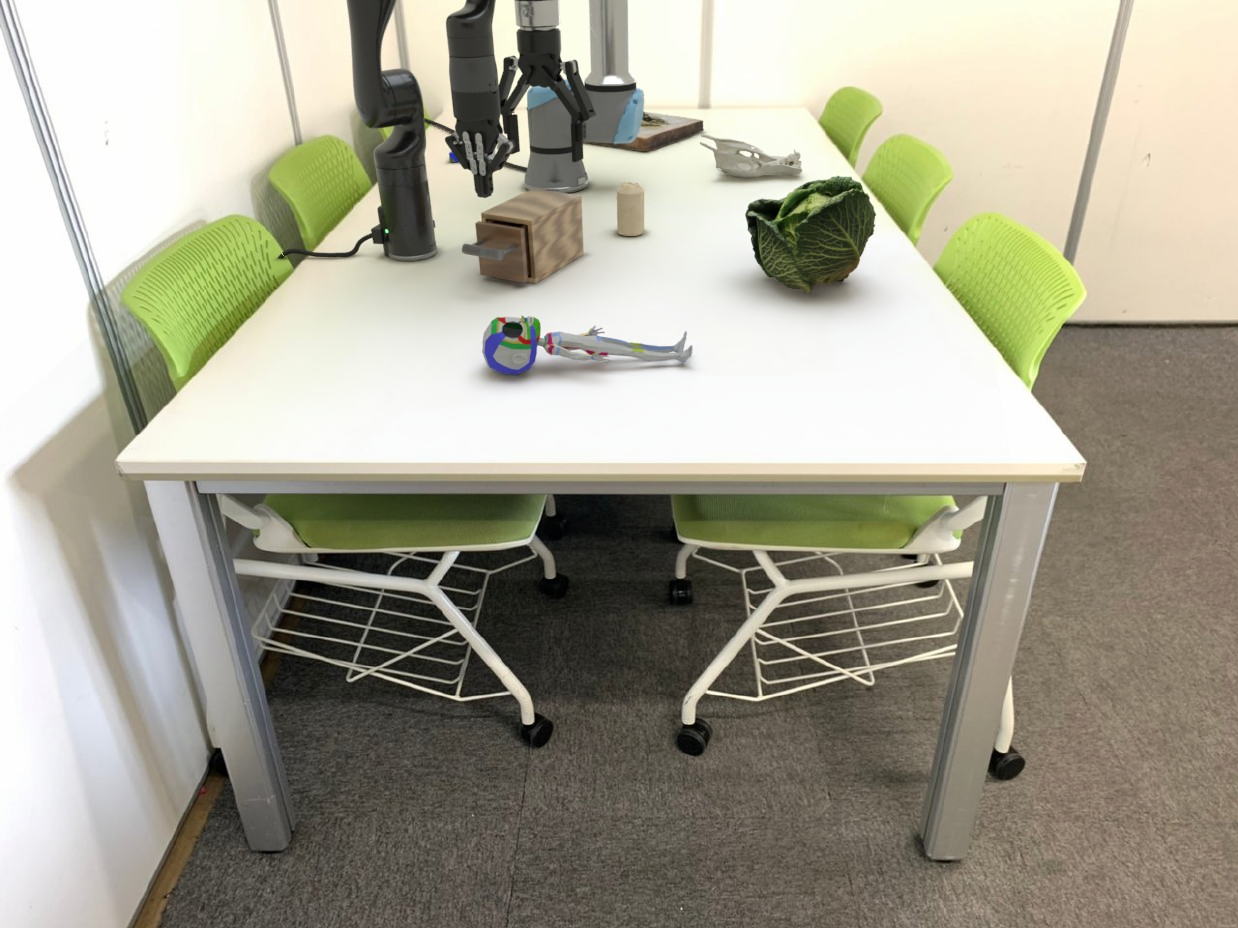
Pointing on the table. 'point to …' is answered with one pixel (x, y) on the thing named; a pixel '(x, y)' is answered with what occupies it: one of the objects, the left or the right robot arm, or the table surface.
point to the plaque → (660, 131)
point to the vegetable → (812, 232)
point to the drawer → (501, 250)
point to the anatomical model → (751, 160)
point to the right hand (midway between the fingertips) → (545, 156)
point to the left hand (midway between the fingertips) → (485, 196)
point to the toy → (561, 345)
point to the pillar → (452, 157)
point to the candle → (630, 209)
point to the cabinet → (545, 228)
